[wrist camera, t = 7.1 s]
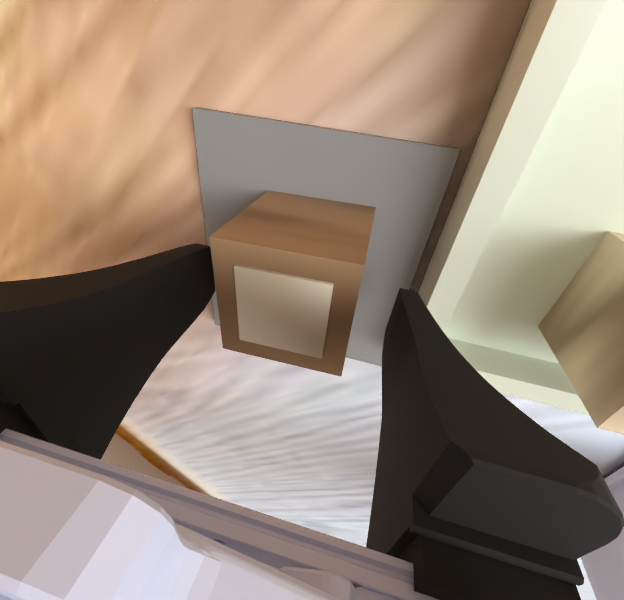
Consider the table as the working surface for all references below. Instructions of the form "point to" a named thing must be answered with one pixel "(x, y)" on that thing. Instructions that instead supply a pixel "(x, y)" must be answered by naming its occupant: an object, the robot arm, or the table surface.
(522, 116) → the parts tray
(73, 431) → the robot arm
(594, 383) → the maple block
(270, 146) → the felt mat
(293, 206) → the walnut block
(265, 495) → the table surface
